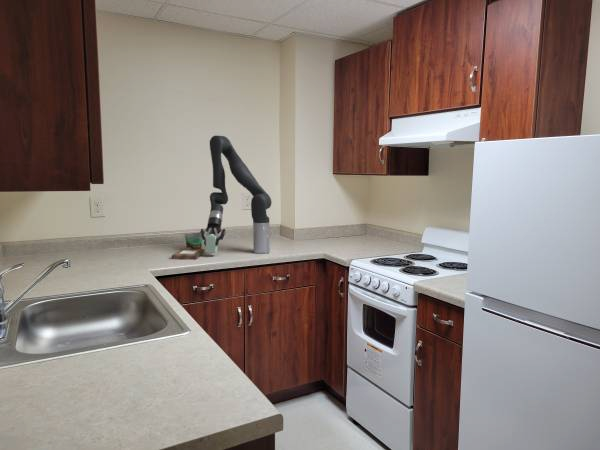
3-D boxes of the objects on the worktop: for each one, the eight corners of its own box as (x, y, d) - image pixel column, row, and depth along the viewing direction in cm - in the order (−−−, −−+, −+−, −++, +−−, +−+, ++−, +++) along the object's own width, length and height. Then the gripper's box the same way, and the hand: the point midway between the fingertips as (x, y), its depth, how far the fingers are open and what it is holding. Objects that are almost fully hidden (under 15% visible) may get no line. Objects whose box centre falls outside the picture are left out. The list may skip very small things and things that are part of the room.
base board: (204, 252, 254) (204, 248, 254) (196, 259, 237) (196, 255, 236) (181, 252, 255) (181, 248, 255) (171, 259, 237) (171, 255, 237)
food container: (191, 251, 257) (191, 234, 256) (184, 250, 261) (184, 233, 259) (208, 248, 267) (207, 231, 265) (201, 247, 270) (200, 230, 269)
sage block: (217, 251, 247) (216, 233, 246) (215, 253, 242) (214, 235, 241) (208, 251, 248) (207, 233, 246) (206, 253, 243) (205, 235, 241)
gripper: (201, 216, 250) (196, 241, 240) (226, 216, 250) (222, 241, 239) (203, 224, 256) (199, 249, 246) (228, 224, 256) (225, 249, 245)
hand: (210, 245), depth 243 cm, fingers closed on sage block, 5 cm apart
